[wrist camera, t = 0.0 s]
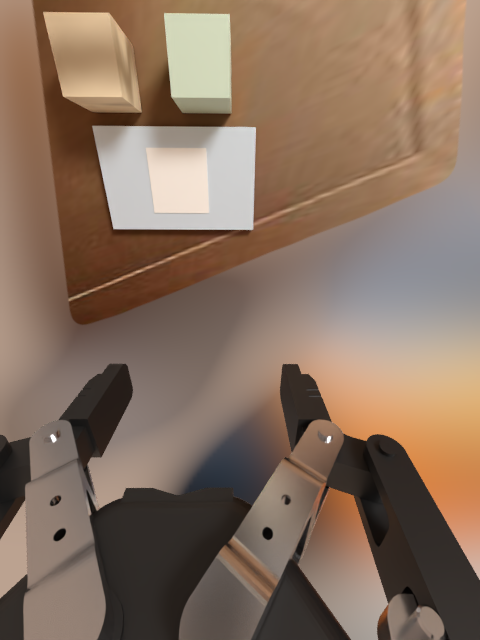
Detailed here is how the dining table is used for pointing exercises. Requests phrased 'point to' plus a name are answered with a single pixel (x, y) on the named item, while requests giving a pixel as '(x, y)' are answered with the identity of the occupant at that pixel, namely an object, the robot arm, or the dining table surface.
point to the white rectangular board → (178, 176)
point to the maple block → (94, 61)
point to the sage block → (199, 61)
